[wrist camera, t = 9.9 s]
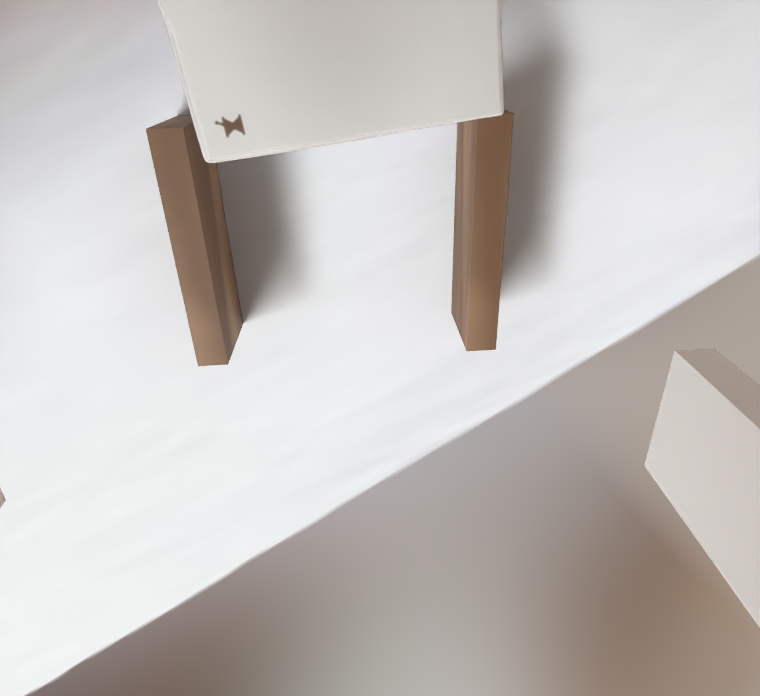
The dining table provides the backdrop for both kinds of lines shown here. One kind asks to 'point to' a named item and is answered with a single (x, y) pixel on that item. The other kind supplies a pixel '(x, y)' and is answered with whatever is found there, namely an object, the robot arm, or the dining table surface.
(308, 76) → the supplement box
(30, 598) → the dining table surface
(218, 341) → the wooden blocks
